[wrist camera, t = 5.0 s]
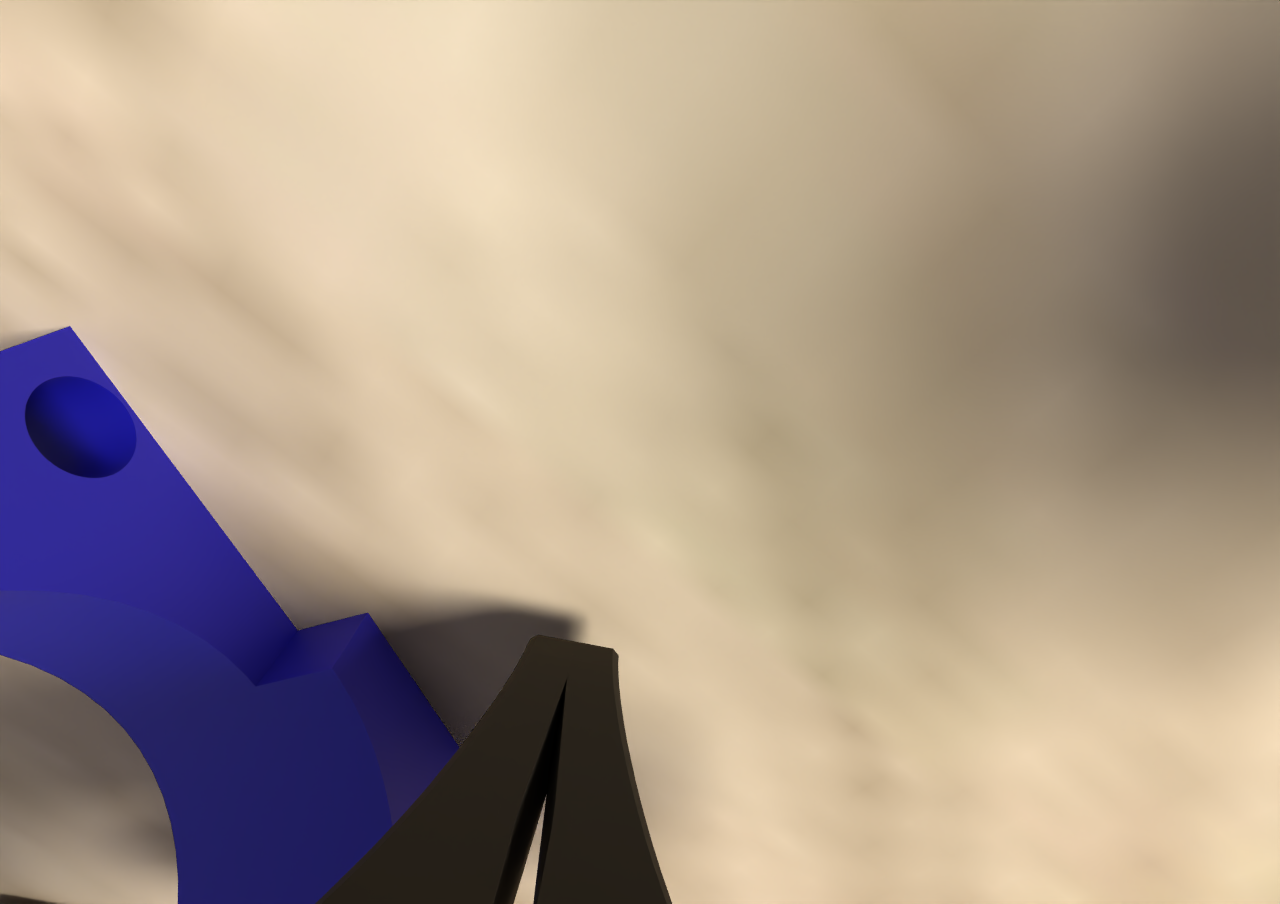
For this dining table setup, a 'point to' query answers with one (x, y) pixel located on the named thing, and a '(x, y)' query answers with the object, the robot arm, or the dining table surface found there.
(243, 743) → the cable clip
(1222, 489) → the dining table surface
